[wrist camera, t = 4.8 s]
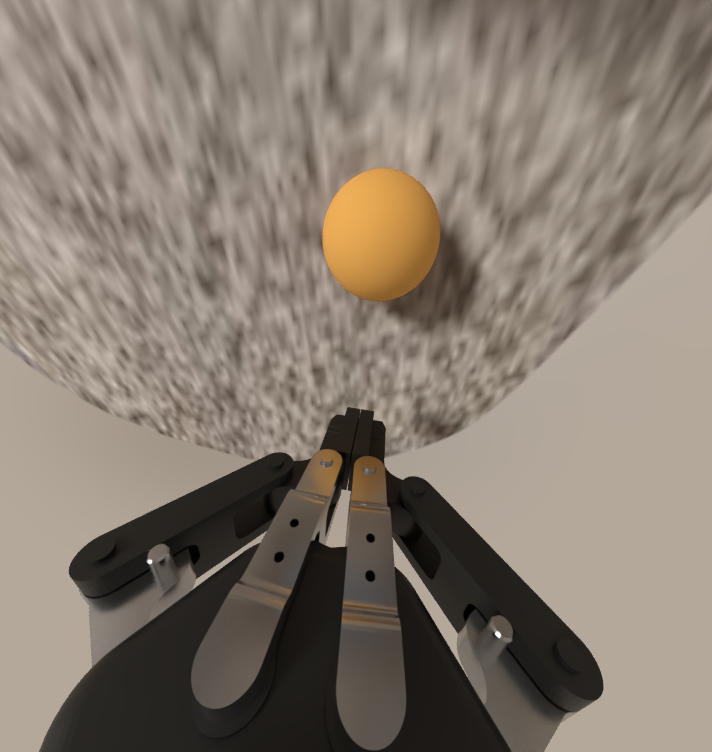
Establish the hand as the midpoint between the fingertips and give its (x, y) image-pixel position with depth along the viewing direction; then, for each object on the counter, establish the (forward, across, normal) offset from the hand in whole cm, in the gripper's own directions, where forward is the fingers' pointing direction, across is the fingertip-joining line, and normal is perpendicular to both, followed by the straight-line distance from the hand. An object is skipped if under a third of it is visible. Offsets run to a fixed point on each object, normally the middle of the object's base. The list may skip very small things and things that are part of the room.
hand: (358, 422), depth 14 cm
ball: (+3, 0, -9) cm, 10 cm away
